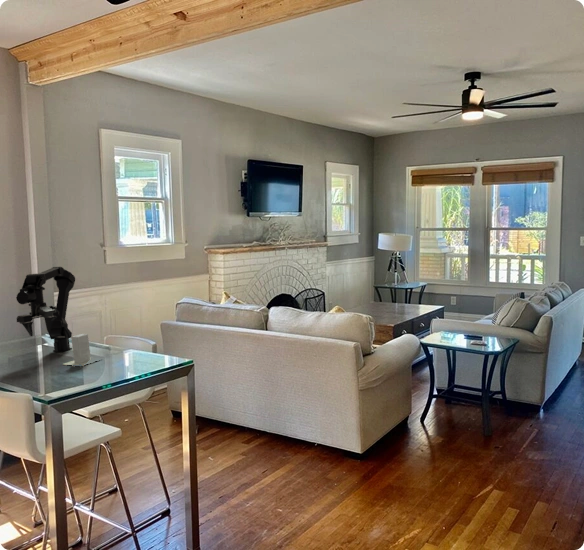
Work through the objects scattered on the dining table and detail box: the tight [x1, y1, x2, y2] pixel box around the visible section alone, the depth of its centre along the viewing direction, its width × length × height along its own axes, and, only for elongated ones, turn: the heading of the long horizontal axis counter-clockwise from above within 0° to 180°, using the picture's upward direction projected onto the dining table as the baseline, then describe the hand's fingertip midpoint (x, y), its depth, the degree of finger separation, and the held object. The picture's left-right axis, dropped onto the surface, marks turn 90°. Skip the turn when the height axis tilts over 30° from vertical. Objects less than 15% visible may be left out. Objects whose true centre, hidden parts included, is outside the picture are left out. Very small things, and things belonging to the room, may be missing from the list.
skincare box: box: [70, 333, 92, 363], centre depth 245 cm, size 6×4×12 cm
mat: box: [62, 360, 88, 367], centre depth 246 cm, size 12×12×1 cm
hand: (40, 334), depth 255 cm, fingers open, 9 cm apart
